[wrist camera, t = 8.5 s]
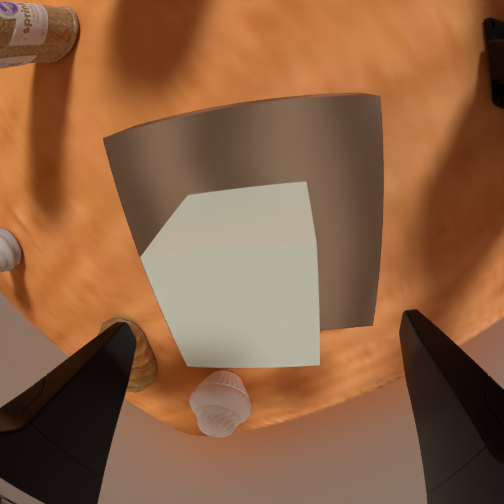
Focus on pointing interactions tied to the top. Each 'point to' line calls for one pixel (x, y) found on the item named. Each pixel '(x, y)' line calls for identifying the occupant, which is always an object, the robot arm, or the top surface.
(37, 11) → the sprinkles bottle
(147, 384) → the pastry
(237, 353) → the sage cube
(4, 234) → the rook chess piece
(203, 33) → the top surface
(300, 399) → the top surface
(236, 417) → the muffin
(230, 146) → the walnut base
